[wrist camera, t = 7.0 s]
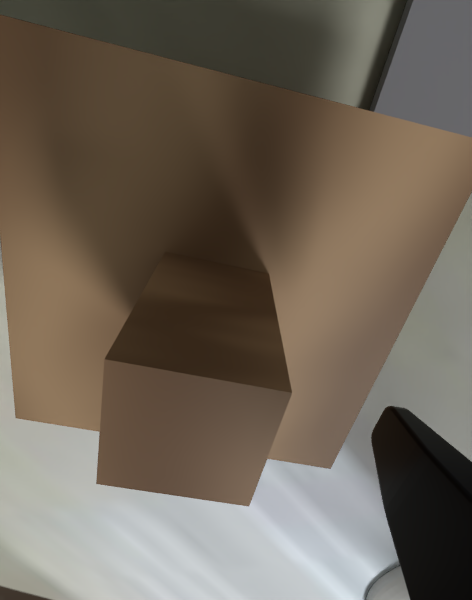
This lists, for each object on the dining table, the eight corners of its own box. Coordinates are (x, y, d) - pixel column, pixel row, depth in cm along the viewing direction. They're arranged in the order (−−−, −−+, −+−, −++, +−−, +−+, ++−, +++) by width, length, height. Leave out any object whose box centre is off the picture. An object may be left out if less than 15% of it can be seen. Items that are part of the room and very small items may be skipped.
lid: (471, 141, 9) (776, 168, 4) (325, 447, 15) (373, 632, 9) (8, 21, 8) (-401, -157, 3) (30, 398, 14) (-105, 576, 8)
